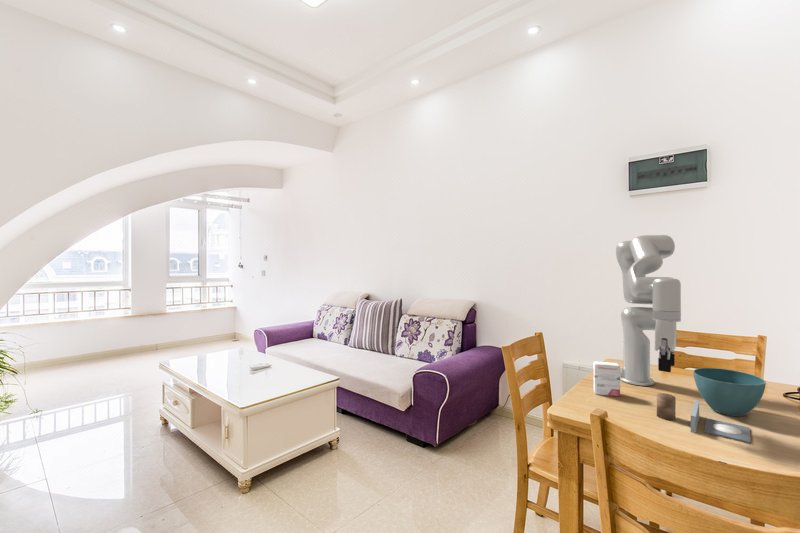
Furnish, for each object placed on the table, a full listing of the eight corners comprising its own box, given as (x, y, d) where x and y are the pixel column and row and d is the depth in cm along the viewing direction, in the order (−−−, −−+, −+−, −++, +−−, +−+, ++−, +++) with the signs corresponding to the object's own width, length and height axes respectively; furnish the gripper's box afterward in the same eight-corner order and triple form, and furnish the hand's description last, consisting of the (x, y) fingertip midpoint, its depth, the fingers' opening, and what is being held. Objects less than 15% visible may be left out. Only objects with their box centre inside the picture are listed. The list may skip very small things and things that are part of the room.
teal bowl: (773, 428, 112) (774, 388, 112) (697, 415, 122) (697, 378, 121) (756, 407, 127) (756, 372, 127) (689, 397, 137) (690, 365, 137)
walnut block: (655, 417, 120) (655, 396, 120) (657, 412, 124) (657, 392, 124) (674, 421, 117) (674, 400, 117) (676, 416, 121) (676, 395, 121)
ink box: (617, 392, 143) (617, 362, 143) (620, 397, 138) (620, 365, 138) (592, 390, 146) (592, 360, 146) (595, 394, 141) (595, 363, 141)
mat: (704, 432, 109) (704, 430, 109) (706, 419, 118) (706, 417, 118) (750, 443, 103) (750, 441, 103) (749, 429, 112) (749, 427, 112)
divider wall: (690, 431, 110) (690, 415, 110) (694, 415, 122) (694, 400, 122) (695, 433, 109) (695, 416, 109) (699, 416, 121) (699, 400, 121)
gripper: (656, 312, 129) (656, 361, 129) (648, 317, 116) (648, 371, 116) (683, 314, 124) (683, 365, 124) (677, 319, 111) (678, 376, 111)
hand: (666, 368), depth 120 cm, fingers open, 9 cm apart
